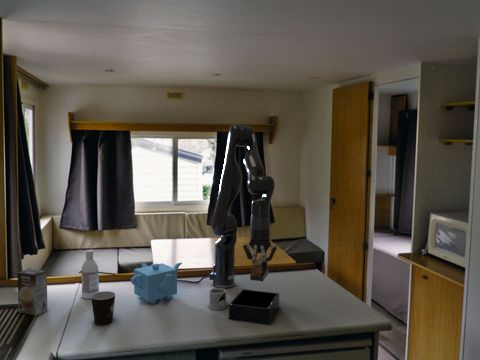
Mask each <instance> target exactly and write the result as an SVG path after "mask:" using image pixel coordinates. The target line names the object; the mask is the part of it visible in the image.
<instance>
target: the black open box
mask: <svg viewBox="0 0 480 360" xmlns="http://www.w3.org/2000/svg"><path fill="white" fill-rule="evenodd" d="M279 308H280V293H278V292H271V291H270V292H269V291H263V290H255V289H254V290H253V289H244V288H243V289H241V290H240V291H239V292H238V294H237V295H236V296H235V297H234V298H233V300H232V301H230V303H228V319H229V320H232V321H233V320H234V321H241V322H247V323H255V324H263V325H270V324H271V322H272V320H273V319H274V317H275V315H276V313H277V311H278V310H279Z"/></svg>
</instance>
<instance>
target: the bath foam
mask: <svg viewBox="0 0 480 360" xmlns="http://www.w3.org/2000/svg"><path fill="white" fill-rule="evenodd" d="M80 271H81V273H80V274H81V297H82V298H83V299H87V300H91V295H93V294H94V293H97V292H100V279H99V278H100V275H99V274H100V273H99V272H100V271H99V265H98V263H97V262H96V260H95V259H94V250H93V249H87V250H86V251H85V260H84V262H83V263H82V266H81V270H80Z"/></svg>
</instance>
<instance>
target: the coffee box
mask: <svg viewBox="0 0 480 360" xmlns="http://www.w3.org/2000/svg"><path fill="white" fill-rule="evenodd" d="M16 274H17V300H18V301H17V303H18V304H17V305H18V306H17V307H18V313H20V314H25V315H30V316H38V315H41V314H42V313H44V312H47V311H49V310H48V271H47V270H42V269H37V268H31V267H29V268H26V269H24V270H21V271H18V272H17V273H16Z"/></svg>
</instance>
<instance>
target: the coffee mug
mask: <svg viewBox="0 0 480 360" xmlns="http://www.w3.org/2000/svg"><path fill="white" fill-rule="evenodd" d="M90 300H91V307H92V312H93V313H92V315H93V319H94V320H93V321H94V324H95V325H97V326H107V325H109V324H111V323H113V321H114V311H115V303H116V293H115V292H113V291H108V290H107V291H106V290H105V291H103V290H102V291H99V292H97V293H94V294H93V295H91V299H90Z"/></svg>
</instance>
